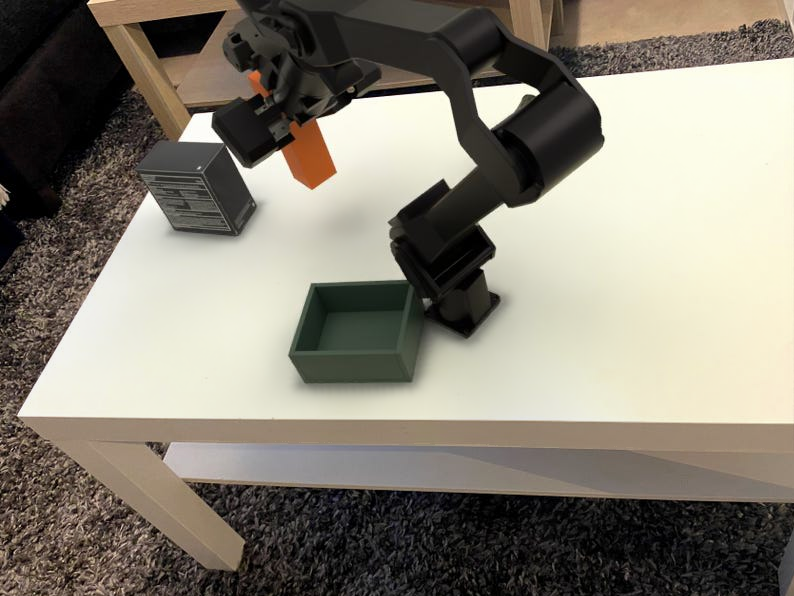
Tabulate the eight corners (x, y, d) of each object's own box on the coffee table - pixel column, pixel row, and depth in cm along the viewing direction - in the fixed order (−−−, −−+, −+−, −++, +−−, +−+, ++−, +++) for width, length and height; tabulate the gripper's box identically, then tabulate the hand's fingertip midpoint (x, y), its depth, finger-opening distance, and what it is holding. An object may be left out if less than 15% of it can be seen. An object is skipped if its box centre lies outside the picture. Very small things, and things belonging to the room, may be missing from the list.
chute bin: (426, 308, 84) (415, 278, 80) (412, 382, 78) (400, 353, 74) (325, 311, 86) (310, 282, 82) (304, 383, 80) (287, 355, 76)
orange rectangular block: (337, 172, 90) (296, 68, 79) (311, 190, 89) (266, 87, 78) (319, 161, 92) (276, 58, 81) (293, 178, 91) (246, 76, 80)
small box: (260, 203, 100) (227, 140, 92) (238, 237, 97) (202, 173, 89) (195, 199, 103) (157, 137, 95) (172, 231, 100) (131, 169, 92)
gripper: (331, -47, 73) (308, 29, 88) (173, 43, 67) (176, 109, 81) (400, 48, 75) (366, 107, 90) (253, 144, 69) (242, 191, 83)
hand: (289, 126), depth 86 cm, fingers closed on orange rectangular block, 4 cm apart
